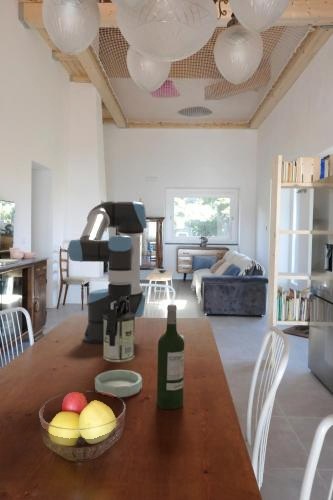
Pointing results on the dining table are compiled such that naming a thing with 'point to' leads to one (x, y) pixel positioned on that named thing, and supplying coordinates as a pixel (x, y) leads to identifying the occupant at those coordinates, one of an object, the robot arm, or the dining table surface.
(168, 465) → the dining table surface
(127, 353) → the coffee can
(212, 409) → the dining table surface
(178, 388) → the wine bottle
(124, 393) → the ring tray
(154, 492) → the dining table surface
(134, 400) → the dining table surface
